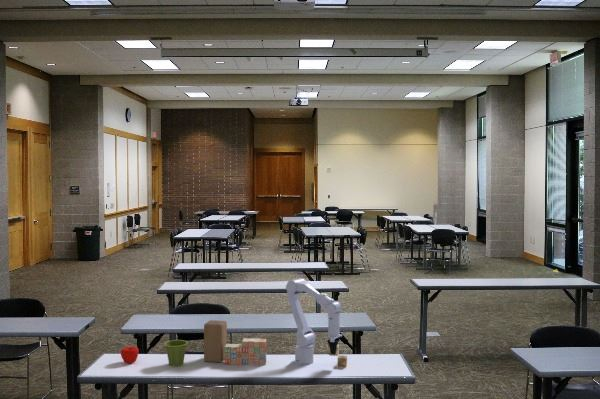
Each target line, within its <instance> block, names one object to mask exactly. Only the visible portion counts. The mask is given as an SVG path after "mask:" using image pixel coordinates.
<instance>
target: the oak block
mask: <svg viewBox="0 0 600 399" xmlns="http://www.w3.org/2000/svg"><path fill="white" fill-rule="evenodd" d="M337 363H338V367H337V368H339V367H347V364H348V355H340V354H338V356H337Z"/></svg>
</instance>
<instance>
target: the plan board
mask: <svg viewBox="0 0 600 399" xmlns="http://www.w3.org/2000/svg"><path fill="white" fill-rule="evenodd" d="M349 367H350V364H349V363H347V367H338V362H336V365H335V368H342V369H343V368H345V369H349Z"/></svg>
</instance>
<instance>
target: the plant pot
mask: <svg viewBox="0 0 600 399" xmlns="http://www.w3.org/2000/svg"><path fill="white" fill-rule="evenodd" d="M188 343H189V342H188V340H183V339H172V340H169V341H165V342H164V346H165V349H166V353H167V360H168V365H169V366H171V367H179V366H183V364H184V362H185V356H186V355H185V354H186V350H187V346H188V345H187V344H188Z"/></svg>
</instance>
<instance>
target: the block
mask: <svg viewBox="0 0 600 399" xmlns="http://www.w3.org/2000/svg"><path fill="white" fill-rule="evenodd" d="M227 333H228V324H227V321H226V320H215V319H211V320H210V319H209V320H208V321H207V322H206V323H205V324H204V325H203V362H208V363H222V362H223V361H225V346H226V344H228V339H227V338H228V334H227Z"/></svg>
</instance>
